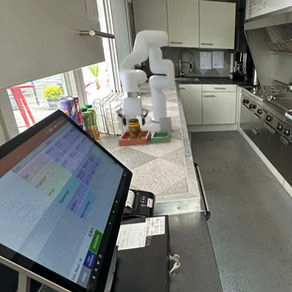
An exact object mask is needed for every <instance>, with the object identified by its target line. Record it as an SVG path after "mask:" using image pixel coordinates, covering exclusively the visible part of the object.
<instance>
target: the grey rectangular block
mask: <svg viewBox="0 0 292 292" xmlns="http://www.w3.org/2000/svg"><path fill="white" fill-rule="evenodd" d="M171 118H172V117H171V116H167V117H163V118H160V122H159V130H160V131H159V132H169V133H171V132H173V126H172V119H171Z"/></svg>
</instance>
